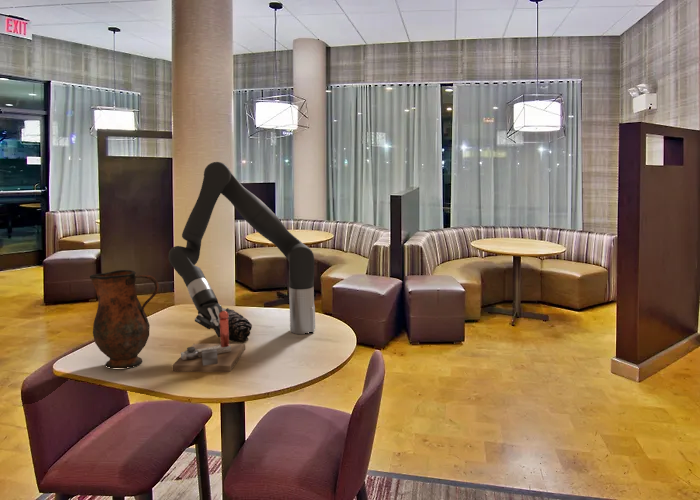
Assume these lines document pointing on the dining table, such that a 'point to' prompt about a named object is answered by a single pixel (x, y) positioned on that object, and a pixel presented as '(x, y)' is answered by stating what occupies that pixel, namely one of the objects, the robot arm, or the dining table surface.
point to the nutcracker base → (222, 360)
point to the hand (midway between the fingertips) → (223, 336)
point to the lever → (223, 338)
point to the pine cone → (238, 327)
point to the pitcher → (120, 317)
